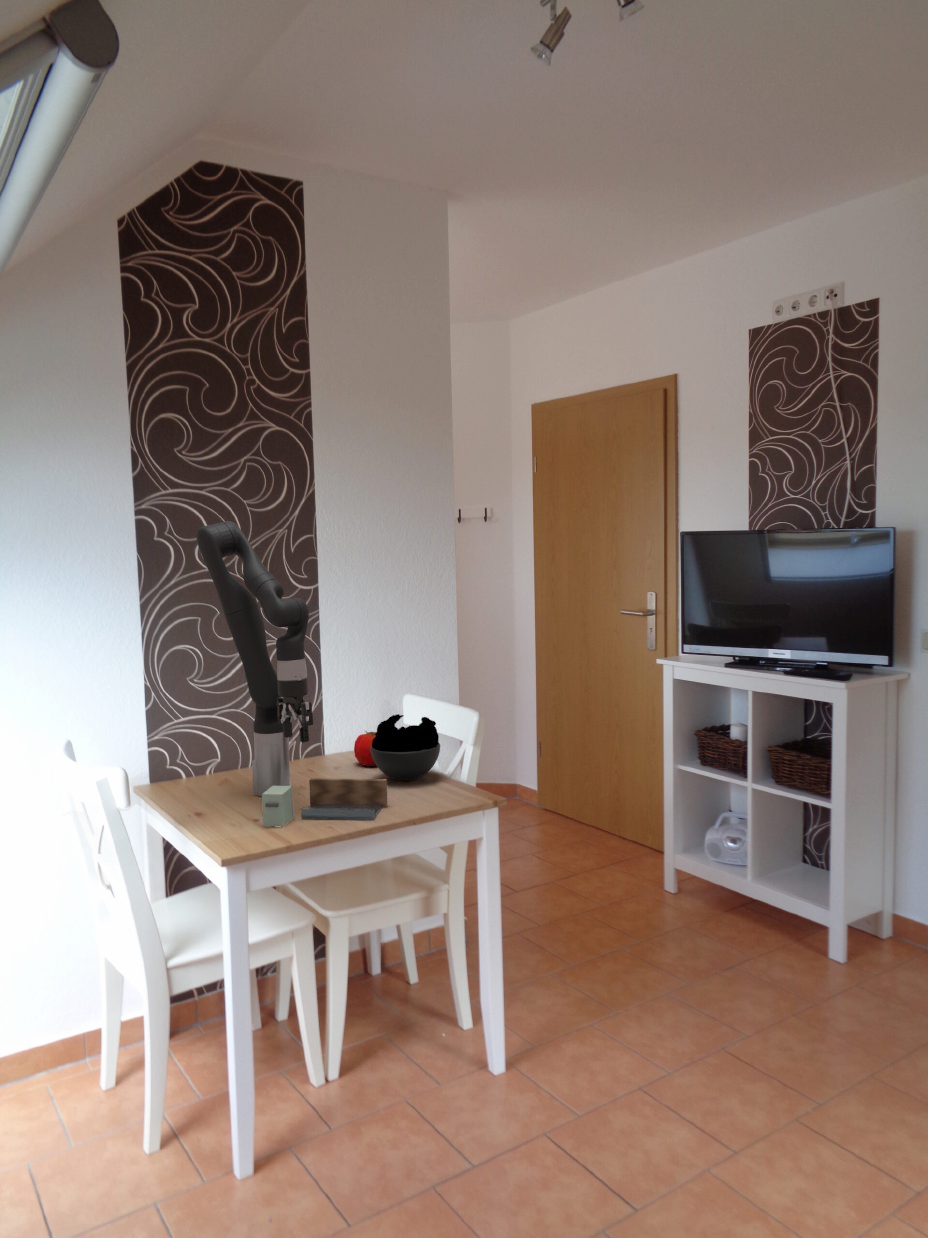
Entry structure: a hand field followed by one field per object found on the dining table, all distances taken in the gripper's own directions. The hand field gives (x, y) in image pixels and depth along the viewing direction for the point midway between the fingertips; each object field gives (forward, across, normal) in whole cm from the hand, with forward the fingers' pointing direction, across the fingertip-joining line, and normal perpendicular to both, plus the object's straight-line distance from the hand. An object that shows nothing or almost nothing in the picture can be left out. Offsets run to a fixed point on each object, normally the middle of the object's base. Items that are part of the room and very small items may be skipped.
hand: (296, 739), depth 231 cm
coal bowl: (+19, -4, +37) cm, 42 cm away
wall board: (+18, +8, +10) cm, 22 cm away
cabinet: (+18, +7, -10) cm, 22 cm away
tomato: (+19, -27, +40) cm, 52 cm away
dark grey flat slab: (+18, +12, +5) cm, 22 cm away
